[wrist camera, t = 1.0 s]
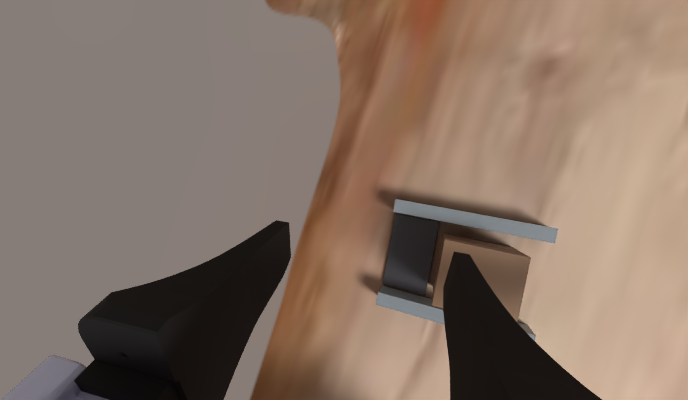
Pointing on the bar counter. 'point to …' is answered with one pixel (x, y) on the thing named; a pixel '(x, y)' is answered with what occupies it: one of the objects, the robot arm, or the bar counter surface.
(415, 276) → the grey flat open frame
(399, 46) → the bar counter surface
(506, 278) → the walnut block
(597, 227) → the bar counter surface
